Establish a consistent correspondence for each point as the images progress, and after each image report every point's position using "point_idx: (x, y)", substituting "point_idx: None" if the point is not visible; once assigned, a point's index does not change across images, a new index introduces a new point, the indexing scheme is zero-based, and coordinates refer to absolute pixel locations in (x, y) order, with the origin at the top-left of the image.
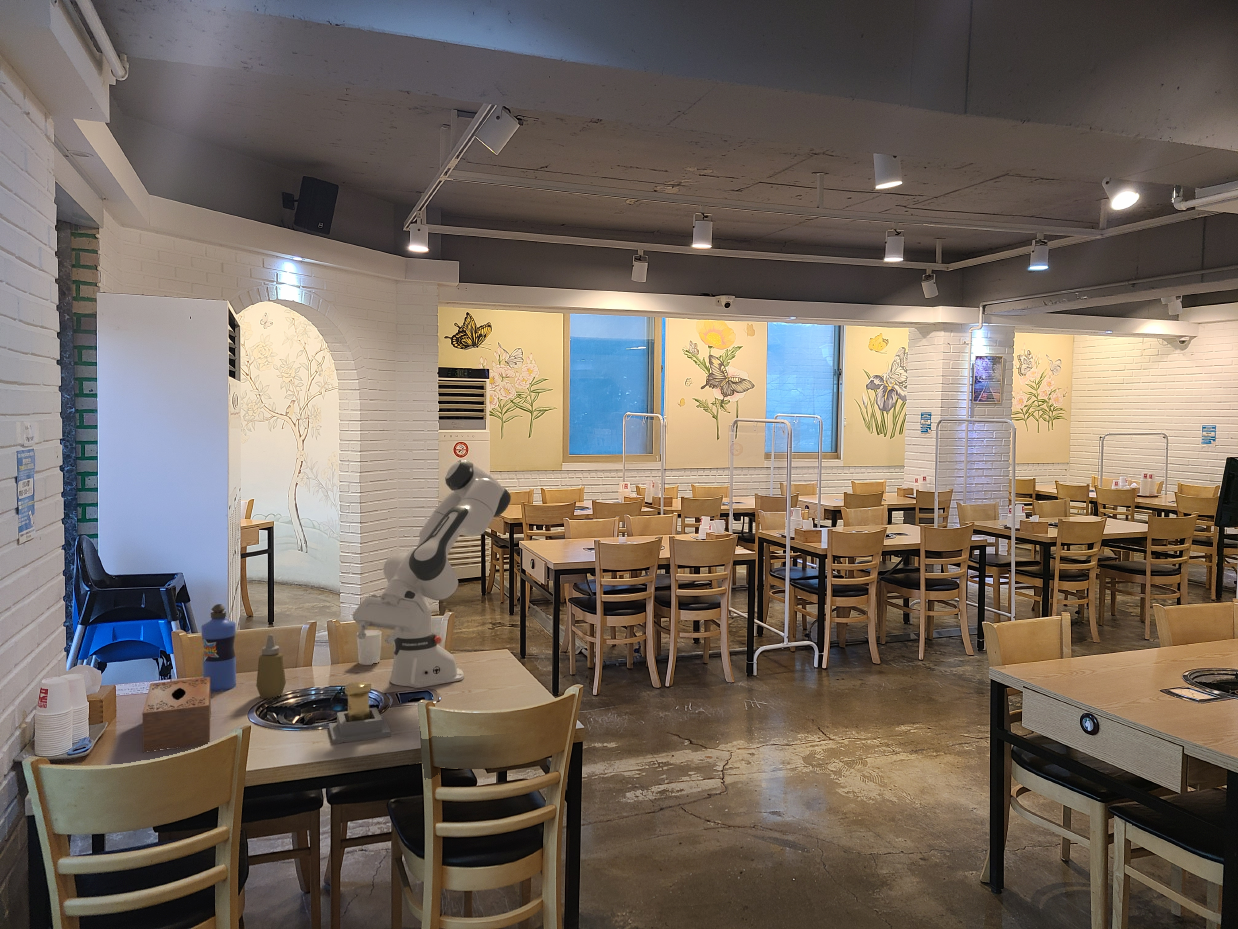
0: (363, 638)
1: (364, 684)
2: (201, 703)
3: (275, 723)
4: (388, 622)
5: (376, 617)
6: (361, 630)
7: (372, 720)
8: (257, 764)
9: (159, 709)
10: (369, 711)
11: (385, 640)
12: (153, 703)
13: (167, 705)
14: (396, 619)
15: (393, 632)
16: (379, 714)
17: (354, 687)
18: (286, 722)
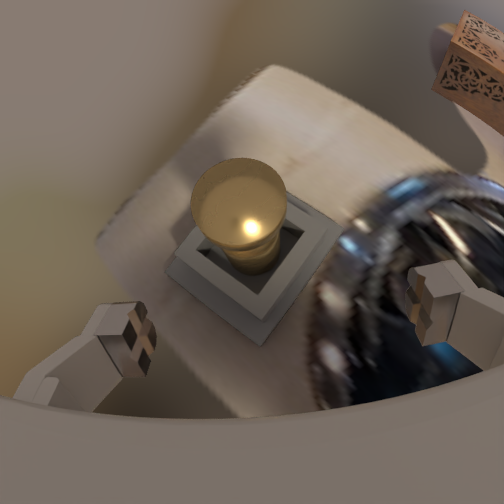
0: (407, 305)
1: (223, 217)
2: (467, 44)
3: (456, 194)
4: (106, 421)
5: (402, 455)
6: (461, 294)
7: (191, 235)
8: (288, 69)
9: (469, 20)
10: (261, 291)
11: (135, 302)
12: (501, 35)
13: (483, 32)
14: (7, 452)
15: (65, 355)
16: (208, 279)
17: (231, 176)
18: (447, 209)
